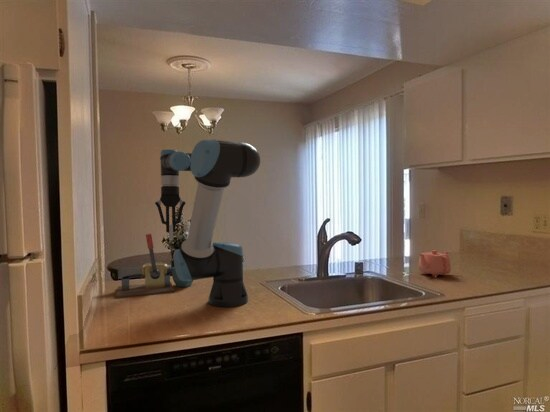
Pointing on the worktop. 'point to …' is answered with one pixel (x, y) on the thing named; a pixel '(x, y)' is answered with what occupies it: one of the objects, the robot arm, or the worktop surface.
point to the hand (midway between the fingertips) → (171, 239)
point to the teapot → (434, 263)
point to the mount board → (142, 291)
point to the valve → (146, 275)
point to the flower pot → (177, 280)
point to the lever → (152, 258)
